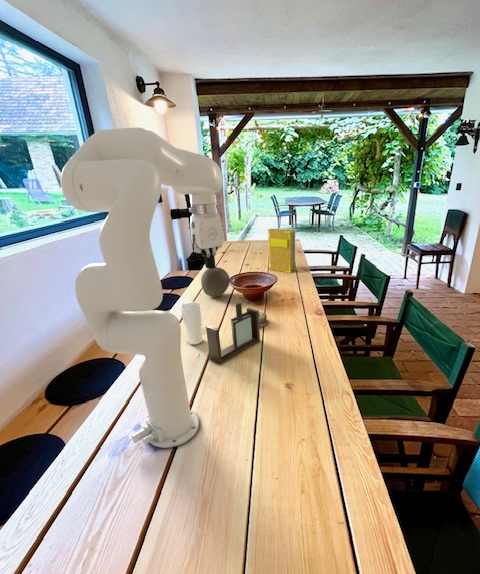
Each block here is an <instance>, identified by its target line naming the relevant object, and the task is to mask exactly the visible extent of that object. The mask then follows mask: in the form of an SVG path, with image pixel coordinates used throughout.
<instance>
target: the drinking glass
mask: <svg viewBox="0 0 480 574" xmlns="http://www.w3.org/2000/svg"><path fill="white" fill-rule="evenodd" d="M180 312H181V317H182V321H183V326H184V329H185V333H186V337H187V342H188V344H190V345H199V344H201V343H202V342H203V329H202V310H201V305H200V303H199V302H197V301H188V302H184V303H182V304H181V305H180Z"/></svg>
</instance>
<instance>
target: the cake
mask: <svg viewBox="0 0 480 574" xmlns="http://www.w3.org/2000/svg"><path fill="white" fill-rule="evenodd" d="M267 318H268V316H267V314H266V313H264V312H262V311H259V328H263V327H265V326H267V325H268V319H267Z"/></svg>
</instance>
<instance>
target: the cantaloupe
mask: <svg viewBox="0 0 480 574" xmlns="http://www.w3.org/2000/svg"><path fill="white" fill-rule="evenodd" d="M230 281H231V280H230V275H229V273H228V272H227V271H226V270H225V269H223V268H222V267H217V266H215V268H213V269H209V268H206V269H205V270H204V272H203V273H202V276H201V278H200V284H201V288H202V290H203V293H204V294H205V295H207V296H208V297H211V298H218V297H220V296H222V295H224V294H225V293H226V291H227V289H228V288H229V286H230Z"/></svg>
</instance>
